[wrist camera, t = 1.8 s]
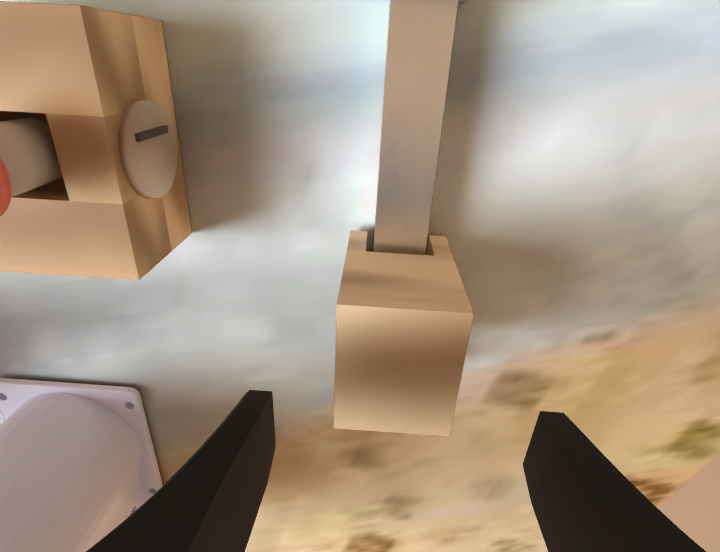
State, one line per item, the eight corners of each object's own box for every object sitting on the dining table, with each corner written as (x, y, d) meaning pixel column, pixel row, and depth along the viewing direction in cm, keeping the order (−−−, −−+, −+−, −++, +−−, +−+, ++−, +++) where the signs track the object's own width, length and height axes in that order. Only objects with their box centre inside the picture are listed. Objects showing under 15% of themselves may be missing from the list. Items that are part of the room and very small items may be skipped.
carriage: (430, 334, 20) (449, 436, 14) (346, 328, 20) (333, 428, 15) (445, 236, 18) (474, 313, 12) (350, 230, 18) (336, 304, 12)
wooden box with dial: (201, 233, 18) (150, 280, 14) (57, 224, 19) (-32, 269, 15) (173, 21, 15) (95, 6, 11) (-6, 11, 15) (-147, -7, 11)
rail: (416, 355, 21) (422, 408, 18) (356, 351, 21) (351, 403, 18) (468, -27, 14) (494, -54, 11) (377, -31, 14) (375, -60, 11)
